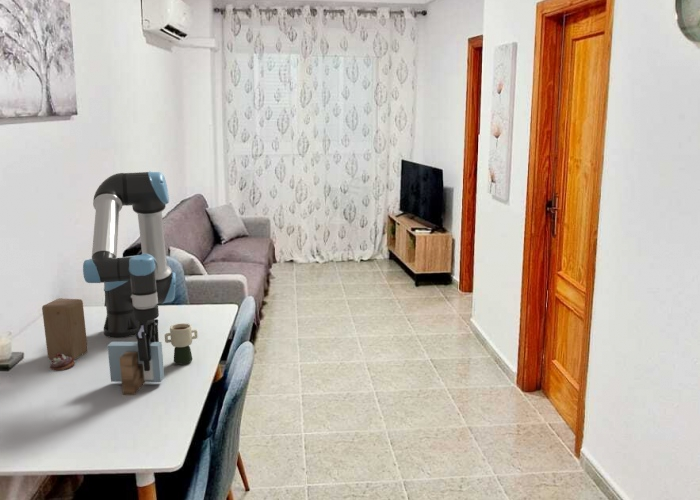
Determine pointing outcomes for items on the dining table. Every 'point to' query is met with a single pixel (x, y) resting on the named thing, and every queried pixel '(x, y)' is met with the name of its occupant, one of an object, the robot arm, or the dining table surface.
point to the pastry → (61, 362)
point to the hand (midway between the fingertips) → (151, 376)
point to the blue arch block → (156, 355)
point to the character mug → (181, 342)
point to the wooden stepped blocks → (131, 373)
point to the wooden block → (65, 328)
